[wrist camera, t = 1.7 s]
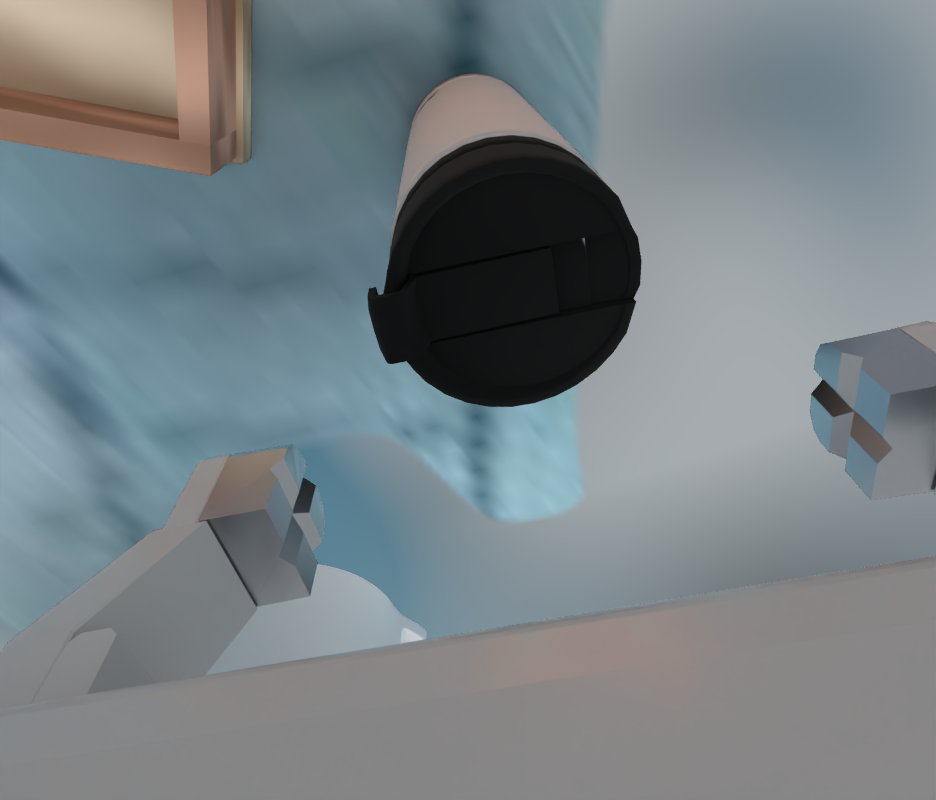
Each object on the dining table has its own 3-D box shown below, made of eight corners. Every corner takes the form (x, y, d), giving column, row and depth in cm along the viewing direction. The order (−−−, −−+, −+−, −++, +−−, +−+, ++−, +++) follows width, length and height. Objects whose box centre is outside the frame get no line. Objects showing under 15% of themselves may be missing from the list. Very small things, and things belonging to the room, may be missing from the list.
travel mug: (388, 89, 30) (329, 197, 13) (526, 59, 29) (655, 130, 12) (418, 219, 33) (403, 443, 16) (543, 194, 33) (662, 395, 16)
